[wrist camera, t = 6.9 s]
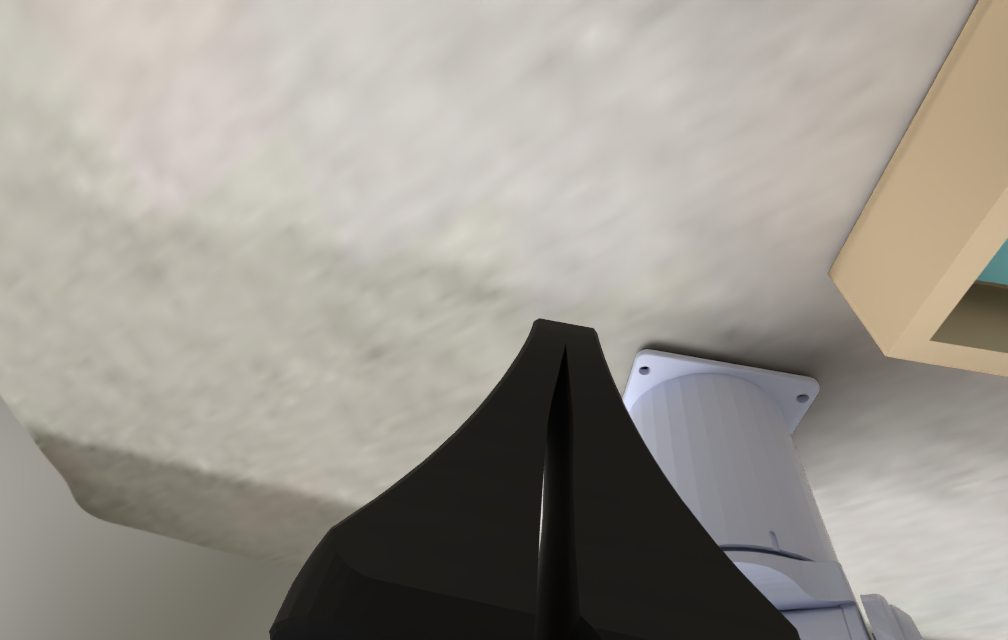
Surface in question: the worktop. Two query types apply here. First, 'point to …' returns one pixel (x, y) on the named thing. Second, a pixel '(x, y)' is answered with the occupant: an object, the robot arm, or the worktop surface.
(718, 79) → the worktop surface
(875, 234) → the lidded box
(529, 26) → the worktop surface
